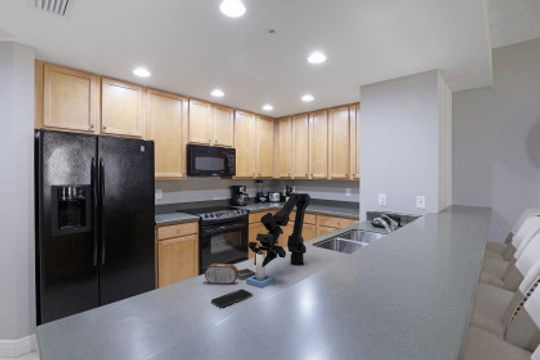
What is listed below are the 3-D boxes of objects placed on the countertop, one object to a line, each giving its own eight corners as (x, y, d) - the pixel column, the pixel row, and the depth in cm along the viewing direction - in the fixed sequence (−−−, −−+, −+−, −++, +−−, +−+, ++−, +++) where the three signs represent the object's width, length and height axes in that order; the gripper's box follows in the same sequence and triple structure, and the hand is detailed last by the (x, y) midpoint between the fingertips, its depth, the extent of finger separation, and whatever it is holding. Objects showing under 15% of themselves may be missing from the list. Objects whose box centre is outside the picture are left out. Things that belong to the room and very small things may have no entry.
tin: (238, 282, 116) (238, 263, 116) (237, 285, 113) (236, 265, 113) (206, 281, 118) (206, 262, 118) (203, 284, 115) (203, 265, 115)
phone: (209, 300, 97) (241, 288, 107) (209, 303, 97) (241, 291, 107) (221, 307, 91) (254, 294, 102) (221, 310, 91) (254, 297, 102)
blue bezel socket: (259, 277, 122) (259, 273, 122) (274, 281, 117) (274, 276, 117) (246, 283, 115) (246, 278, 115) (262, 288, 109) (262, 283, 109)
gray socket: (247, 272, 129) (247, 268, 129) (255, 276, 123) (255, 272, 123) (234, 275, 125) (233, 271, 125) (241, 280, 119) (241, 275, 119)
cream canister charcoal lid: (263, 277, 118) (263, 250, 118) (266, 280, 114) (265, 252, 115) (255, 278, 117) (254, 251, 117) (257, 281, 113) (257, 253, 113)
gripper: (249, 224, 125) (234, 252, 116) (282, 228, 114) (267, 259, 105) (260, 237, 131) (246, 265, 122) (291, 242, 120) (278, 273, 111)
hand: (258, 265), depth 115 cm, fingers closed on cream canister charcoal lid, 4 cm apart
